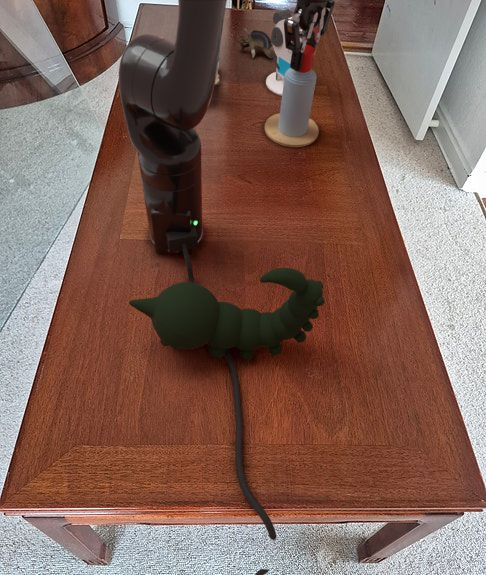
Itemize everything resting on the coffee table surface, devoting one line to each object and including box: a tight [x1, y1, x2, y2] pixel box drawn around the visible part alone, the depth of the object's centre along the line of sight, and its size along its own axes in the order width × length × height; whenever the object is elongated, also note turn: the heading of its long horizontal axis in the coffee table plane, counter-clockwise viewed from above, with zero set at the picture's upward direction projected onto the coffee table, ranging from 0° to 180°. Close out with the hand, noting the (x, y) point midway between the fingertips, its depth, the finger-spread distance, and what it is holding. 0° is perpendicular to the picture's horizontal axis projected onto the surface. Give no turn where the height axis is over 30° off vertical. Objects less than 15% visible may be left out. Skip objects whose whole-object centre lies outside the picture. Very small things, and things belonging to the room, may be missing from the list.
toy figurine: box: [128, 267, 326, 361], centre depth 62 cm, size 9×19×25 cm
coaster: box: [264, 112, 320, 148], centre depth 102 cm, size 12×12×1 cm
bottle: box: [278, 68, 318, 137], centre depth 95 cm, size 6×6×17 cm
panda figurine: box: [265, 8, 317, 97], centre depth 107 cm, size 12×11×15 cm
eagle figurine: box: [236, 28, 275, 59], centre depth 118 cm, size 8×7×9 cm
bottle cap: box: [295, 45, 316, 73], centre depth 89 cm, size 4×4×4 cm
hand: (301, 64), depth 90 cm, fingers closed on bottle cap, 4 cm apart
